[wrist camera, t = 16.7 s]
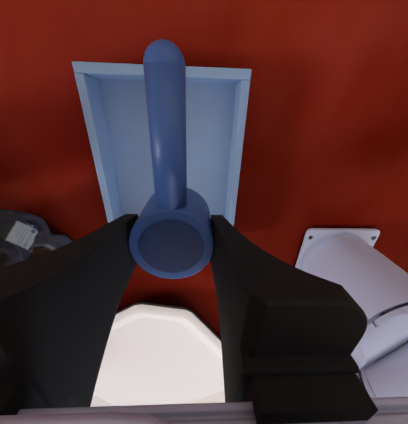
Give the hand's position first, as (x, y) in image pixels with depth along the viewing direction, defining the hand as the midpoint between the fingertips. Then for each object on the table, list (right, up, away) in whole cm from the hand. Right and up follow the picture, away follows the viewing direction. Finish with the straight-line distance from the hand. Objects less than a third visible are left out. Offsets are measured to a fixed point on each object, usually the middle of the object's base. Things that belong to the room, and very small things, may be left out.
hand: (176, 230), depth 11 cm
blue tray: (-1, +5, +7) cm, 8 cm away
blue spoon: (0, +3, 0) cm, 3 cm away
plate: (-7, -24, +21) cm, 33 cm away
